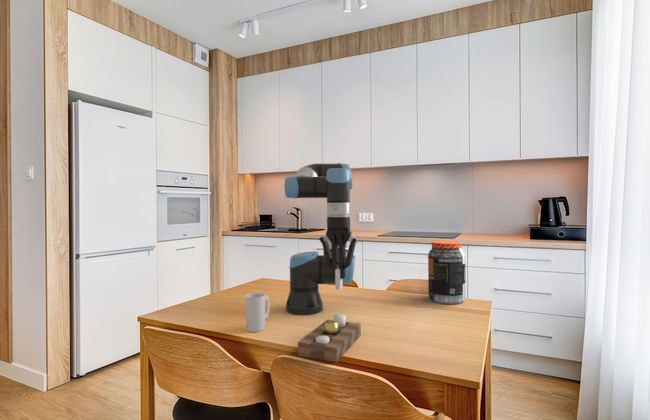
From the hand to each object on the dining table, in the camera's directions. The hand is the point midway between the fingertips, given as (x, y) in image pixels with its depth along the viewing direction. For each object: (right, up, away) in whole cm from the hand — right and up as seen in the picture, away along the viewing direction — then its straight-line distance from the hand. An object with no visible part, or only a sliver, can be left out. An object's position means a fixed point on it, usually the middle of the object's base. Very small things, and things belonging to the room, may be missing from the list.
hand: (339, 288), depth 124 cm
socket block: (-3, -16, -6) cm, 18 cm away
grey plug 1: (-5, -16, -12) cm, 21 cm away
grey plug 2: (0, -13, 0) cm, 13 cm away
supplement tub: (+49, -15, +45) cm, 68 cm away
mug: (-28, -16, +10) cm, 34 cm away
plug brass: (-3, -13, -6) cm, 15 cm away
